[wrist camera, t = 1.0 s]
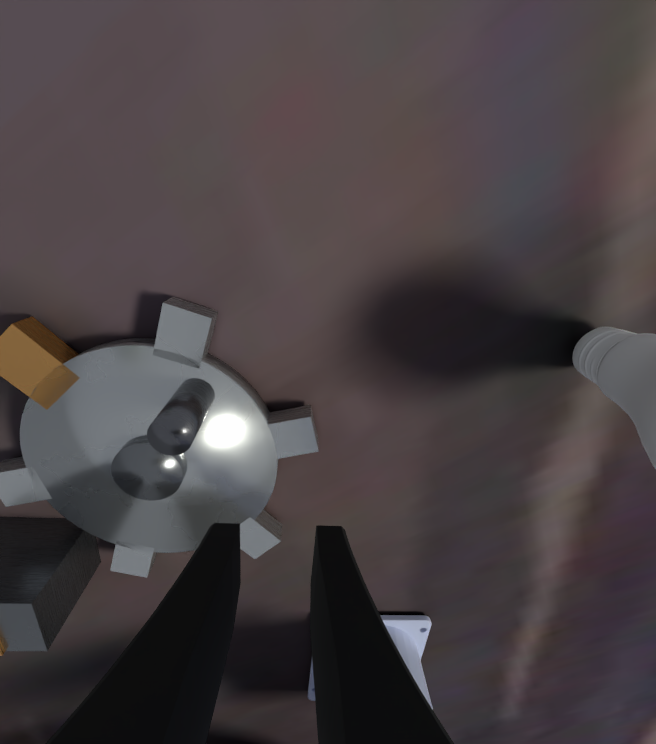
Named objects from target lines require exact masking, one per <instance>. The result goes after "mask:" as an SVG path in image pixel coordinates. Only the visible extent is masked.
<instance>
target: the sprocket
mask: <svg viewBox="0 0 656 744" xmlns="http://www.w3.org/2000/svg"><path fill="white" fill-rule="evenodd" d="M217 315H218V311H215V310H212V309H209V308H206V307H203V306H200V305H197V304H194V303H191V302H188V301H185V300H182V299H178V298H175V297H171V298H170V299H168V300H166V301H165V302H163V304H162V309H161V314H160V319H159V324H158V330H157V335H156V339H152V338H132V339H123V340H116V341H112V342H108V343H104V344H100V345H98V346H95V347H93V348H90V349H88V350H85V351H84V352H82V353H80V354H78V353H77V352H75V351H74V350H73V349H72V348H70V347H69V346H68V345H67V344H66V343H64V342H63V341H62V340H61V339H59V338H58V337H57V336H56V335H55V334H53V333H52V332H51V331H50V330H48V329H47V328H46V327H45V326H44V325H42V324H41V323H40V322H39V321H37V320H36V319H35V318H34V317H33V316H32V317H29V318H27V319H24V320H21V321H18V322H15V323H13V324H11V325H10V326H9V327H8V329H7V330H6V331H5V332H4V333H3V334H2V335H1V336H0V376H1V377H3V378H4V379H5V380H7V381H8V382H9V383H11V384H12V385H14V386H15V387H16V388H18V389H19V390H20V391H22V392H23V393H24V394H26V395H27V396H29V399H28V401H27V403H26V405H25V408H24V411H23V414H22V418H21V425H20V446H21V451H22V456H23V457H18V458H12V459H7V460H3V461H2V462H0V499H1V500H2V502H3V503H4V505H5V506H6V507H8V506H13V505H19V504H24V503H30V502H36V501H41V500H47V501H48V502H49V503H50V504H51V505H52V506H53V508H55V509H56V510H57V511H58V512H59V513H60V514H61V515H63V516H64V517H65V518H66V519H68V520H69V521H70V522H72V523H73V524H75V525H76V526H78V527H79V528H81V529H83V530H85V531H86V532H88V533H90V534H92V535H94V536H96V537H98V538H100V539H103V540H105V541H108V542H111V543H113V544H116V545H115V550H114V555H113V560H112V565H111V570H110V571H115V572H120V573H125V574H131V575H136V576H141V577H146V578H147V577H148V574H149V572H150V570H151V568H152V566H153V563H154V561H155V558H156V554H157V552H162V553H170V552H185V551H193V550H196V549H197V548H198V546H199V545H200V543H201V541H202V539H203V538H204V536H205V534H206V532H207V531H208V529H209V527H210V526H211V525H212V524H214V523H238V524H240V549H242V550H243V551H244V552H246V553H247V554H249V555H250V556H251V557H253V558H254V559H256V558H257V557H259V556H260V555H262V554H263V553H265V552H266V551H267V550H269V549H270V548H272V547H273V546H275V545H276V544H278V543H279V542H281V534H282V524H281V523H280V522H279V521H277V520H276V519H275V518H274V517H272V516H271V515H270V514H269V513H267V512H266V511H265V510H264V507H265V506H266V504H267V503H268V500H269V498H270V496H271V494H272V492H273V488H274V485H275V482H276V475H277V467H278V459H279V458H284V457H290V456H295V455H301V454H307V453H312V452H318V451H319V450H318V436H317V431H316V427H315V422H314V418H313V413H312V409H311V405H307V406H301V407H296V408H290V409H285V410H279V411H274V412H269V410H268V408H267V406H266V404H265V402H264V401H263V399H262V398H261V397H260V395H259V394H258V392H257V391H256V390H255V389H254V388H253V387H252V385H251V384H250V383H249V382H248V381H247V380H246V379H245V378H244V377H243V376H241V375H240V374H239V373H238V372H237V371H235V370H234V369H233V368H232V367H230V366H229V365H227V364H226V363H224V362H223V361H221V360H220V359H218V358H216V357H214V356H212V355H210V354H208V350H209V346H210V342H211V338H212V335H213V331H214V327H215V323H216V319H217Z"/></svg>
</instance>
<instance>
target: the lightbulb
mask: <svg viewBox="0 0 656 744" xmlns="http://www.w3.org/2000/svg"><path fill="white" fill-rule="evenodd" d="M572 360H573V365H574V367H575V368H576V370H577V371H578V372H580V373H581V374H583V375H584V376H585V377H586V378H588V379H590V380H591V381H592V382H594V383H596V384H597V385H598V386H599V388H600V390H601V391H602V392H603V394H604V395H605V396H607V397H608V398H609V399H611V400H612V401H614V402H615V403H616V404H618V405H619V406H620V407H621V408H622V409H623V410H624V411H625V412H626V413H627V414H628V415H629V417H630V418H631V419H632V421H633V422H634V424H635V426H636V429H637V432H638V434H639V437H640V440H641V443H642V445H643V447H644V449H645V451H646V453H647V455H648V457H649V459H650V461H651V463H652V465H653V466H654V468H655V469H656V334H652V333H641V334H636V333H633V332H628V331H626V330H622V329H617V328H613V327H599V328H596V329H594V330H592V331H590V332H588V333H587V334H585V335H584V336H583V337H582V338H581V339H580V340H579V341H578V343H577V344H576V346H575V348H574V351H573V357H572Z"/></svg>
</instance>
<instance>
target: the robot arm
mask: <svg viewBox="0 0 656 744" xmlns="http://www.w3.org/2000/svg"><path fill="white" fill-rule="evenodd" d="M239 589H240V524H238V523H214V524H212V525H211V526H210V527H209V529H208V531H207V532H206V534H205V536H204V538H203V539H202V541H201V543H200V545H199V546H198V548H197V549H196V551H195V553H194V554H193V556H192V557H191V559H190V561H189V562H188V564H187V565H186V567H185V568H184V570H183V571H182V573H181V574H180V576H179V577H178V579H177V580H176V582H175V583H174V584H173V586H172V587H171V589H170V590H169V592H168V593H167V594H166V596H165V597H164V599H163V600H162V602H161V603H160V604H159V606H158V607H157V609H156V610H155V611H154V613H153V614H152V615H151V617H150V618H149V620H148V621H147V622H146V623H145V625H144V626H143V627H142V629H141V630H140V631H139V633H138V634H137V635H136V636H135V638H134V639H133V640H132V642H131V643H130V644H129V645H128V647H127V648H126V649H125V651H124V652H123V653H122V655H121V656H120V657H119V658H118V660H117V661H116V662H115V663H114V665H113V666H112V667H111V668H110V670H109V671H108V672H107V673H106V675H105V676H104V677H103V678H102V679H101V681H100V682H99V683H98V684H97V685H96V687H95V688H94V689H93V690H92V691H91V693H90V694H89V695H88V696H87V697H86V698H85V700H84V701H83V702H82V703H81V704H80V705H79V707H78V708H77V709H76V710H75V711H74V712H73V714H72V715H71V716H70V717H69V718H68V719H67V721H66V722H65V723H64V724H63V725H62V726H61V727H60V729H59V730H58V731H57V732H56V733H55V734H54V735H53V736H52V737H51V739H50V740H49V741H48V742H47V743H46V744H206V740H207V736H208V732H209V728H210V724H211V720H212V716H213V712H214V707H215V703H216V699H217V695H218V691H219V687H220V683H221V679H222V675H223V670H224V666H225V662H226V658H227V654H228V650H229V646H230V641H231V637H232V633H233V628H234V622H235V615H236V609H237V602H238V595H239ZM430 627H431V620H430V618H429V617H428V616H425V615H380V614H379V612H378V610H377V608H376V606H375V604H374V602H373V600H372V597H371V595H370V593H369V591H368V589H367V587H366V584H365V582H364V580H363V578H362V575H361V573H360V570H359V568H358V566H357V563H356V561H355V558H354V556H353V553H352V550H351V547H350V545H349V542H348V539H347V535H346V532H345V530H344V529H343V528H342V527H341V526H316V536H315V546H314V556H313V566H312V576H311V603H310V634H311V648H312V660H311V668H310V677H309V686H308V699H310V700H312V701H316V715H317V728H318V741H319V744H454V743H453V741H452V740H451V738H450V737H449V735H448V734H447V732H446V731H445V729H444V727H443V726H442V724H441V723H440V721H439V719H438V718H437V716H436V715H435V713H434V711H433V708H432V704H431V700H430V696H429V692H428V688H427V685H426V681H425V677H424V673H423V669H422V665H421V661H420V660H421V657H422V654H423V651H424V647H425V644H426V641H427V637H428V634H429V631H430Z"/></svg>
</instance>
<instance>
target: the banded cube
mask: <svg viewBox="0 0 656 744" xmlns="http://www.w3.org/2000/svg"><path fill="white" fill-rule="evenodd" d="M100 563H101V560H100V555H99V550H98V546H97V541H96V536H94V535H92V534H90V533H88V532H86V531H85V530H83V529H81V528H79V527H78V526H76V525H75V524H73V523H72V522H70V521H69V520H68V519H63V518H26V517H0V656H2V655H3V654H4V652H5V651H48V649H49V647H50V646H51V644H52V642H53V641H54V639H55V637H56V636H57V634H58V632H59V631H60V629H61V627H62V626H63V624H64V622H65V621H66V619H67V617H68V616H69V614H70V612H71V611H72V609H73V607H74V606H75V604H76V602H77V601H78V599H79V597H80V596H81V594H82V593H83V591H84V589H85V588H86V586H87V584H88V583H89V581H90V579H91V578H92V576H93V574H94V573H95V571H96V569H97V568H98V566H99V564H100Z"/></svg>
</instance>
